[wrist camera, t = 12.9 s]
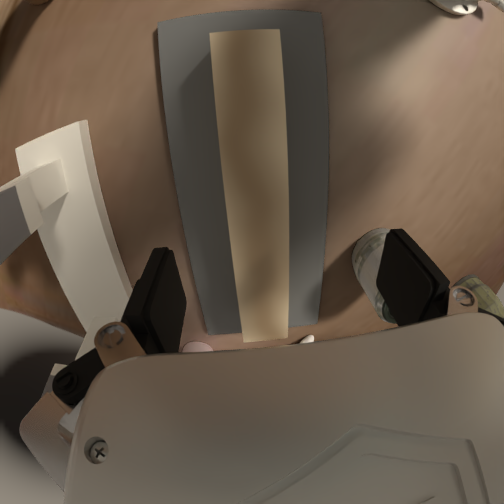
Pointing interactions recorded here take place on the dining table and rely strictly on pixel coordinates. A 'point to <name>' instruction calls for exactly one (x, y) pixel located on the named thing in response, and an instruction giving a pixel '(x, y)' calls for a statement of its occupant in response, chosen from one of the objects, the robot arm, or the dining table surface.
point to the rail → (255, 174)
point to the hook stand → (67, 227)
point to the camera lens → (371, 269)
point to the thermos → (482, 295)
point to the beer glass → (37, 2)
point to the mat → (209, 160)
